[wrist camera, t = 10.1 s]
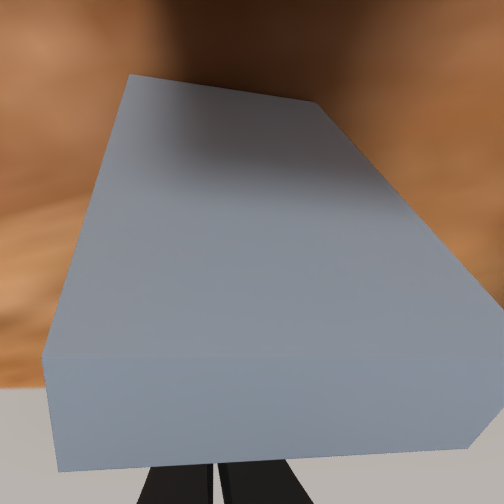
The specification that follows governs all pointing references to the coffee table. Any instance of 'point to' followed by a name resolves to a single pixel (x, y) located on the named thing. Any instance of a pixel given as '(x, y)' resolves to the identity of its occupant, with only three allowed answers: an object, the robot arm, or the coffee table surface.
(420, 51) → the coffee table surface
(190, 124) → the domino
